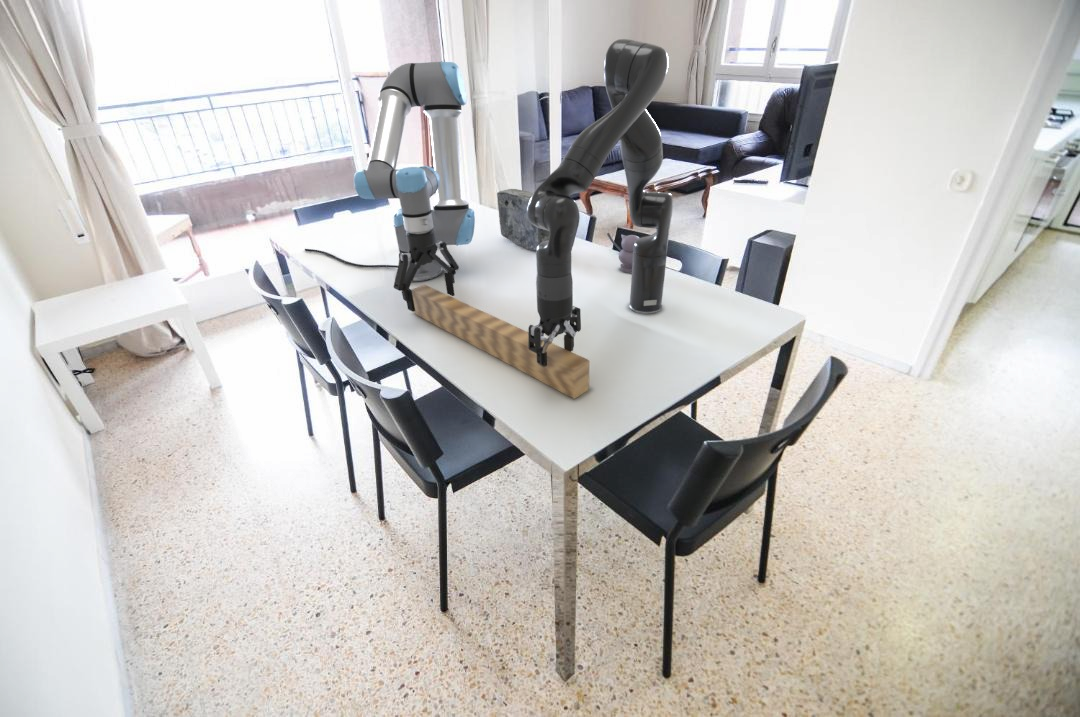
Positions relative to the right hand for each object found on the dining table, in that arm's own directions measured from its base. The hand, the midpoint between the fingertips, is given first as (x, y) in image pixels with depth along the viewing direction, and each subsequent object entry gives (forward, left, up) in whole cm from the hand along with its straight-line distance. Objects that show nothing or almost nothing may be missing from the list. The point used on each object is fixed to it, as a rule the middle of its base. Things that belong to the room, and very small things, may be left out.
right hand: (556, 357), depth 112 cm
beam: (-12, -21, -7) cm, 25 cm away
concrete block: (-90, -33, -7) cm, 96 cm away
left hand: (-25, -43, -2) cm, 50 cm away
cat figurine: (-73, +9, -7) cm, 74 cm away
